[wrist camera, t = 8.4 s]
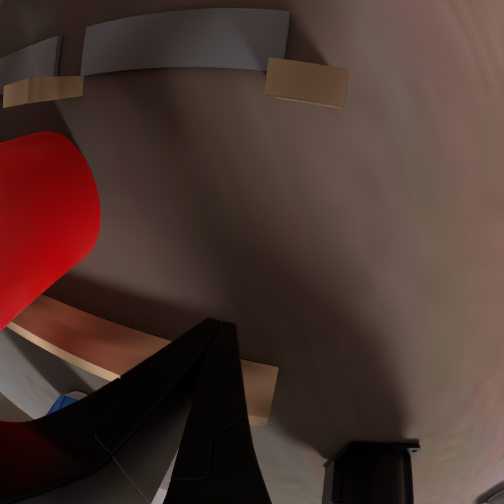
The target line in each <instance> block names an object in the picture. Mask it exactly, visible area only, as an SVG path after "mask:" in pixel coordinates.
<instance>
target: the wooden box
mask: <svg viewBox="0 0 504 504" xmlns="http://www.w3.org/2000/svg"><path fill="white" fill-rule="evenodd" d="M289 21H290V11H283V10H271V9H253V8H208V9H190V10H178V11H168V12H160V13H152V14H145V15H139V16H133V17H127V18H122V19H117V20H113V21H108V22H104V23H99V24H95V25H91V26H88V27H86V32H85V39H84V46H83V54H82V63H81V74H80V76H57V75H58V64H59V55H60V47H61V40H62V36H60V35H58V36H55V37H52V38H49V39H46V40H43V41H41V42H38V43H35V44H33V45H30V46H28V47H25V48H23V49H20V50H18V51H16V52H13V53H11V54H9V55H7V56H5V57H3V58H0V96H1V95H3V108H7V107H12V106H17V105H23V104H29V103H35V102H42V101H49V100H57V99H63V98H71V97H79V96H83V89H84V76H87V75H93V74H101V73H108V72H117V71H127V70H139V69H155V68H229V69H245V70H257V71H267V75H266V83H265V91H264V94H265V95H269V96H272V97H275V98H278V99H283V100H290V101H297V102H303V103H309V104H315V105H320V106H325V107H330V108H342V107H344V104H345V98H346V91H347V84H348V77H349V70H346V69H341V68H336V67H331V66H326V65H320V64H314V63H308V62H301V61H294V60H287V59H285V52H286V45H287V37H288V29H289ZM7 327H8V328H10V329H11V330H13V331H15V332H16V333H18V334H19V335H21V336H23V337H24V338H26V339H28V340H29V341H31V342H33V343H35V344H36V345H38V346H40V347H42V348H43V349H45V350H47V351H49V352H51V353H53V354H54V355H56V356H58V357H60V358H62V359H64V360H66V361H68V362H70V363H72V364H74V365H76V366H78V367H80V368H82V369H84V370H87V371H89V372H91V373H93V374H95V375H98V376H100V377H102V378H104V379H107V380H109V381H113V380H114V379H116V378H117V377H119V378H120V376H121V375H122V374H124V373H125V372H127V371H128V370H130V369H131V368H133V367H134V366H136V365H137V364H139V363H141V362H142V361H144V360H145V359H147V358H148V357H150V356H151V355H153V354H154V353H156V352H157V351H159V350H160V349H162V348H163V347H165V346H166V345H168V344H169V343H171V342H172V341H170V340H166V339H163V338H160V337H156V336H153V335H150V334H147V333H144V332H141V331H138V330H135V329H132V328H129V327H126V326H123V325H120V324H117V323H114V322H111V321H108V320H106V319H103V318H100V317H97V316H95V315H92V314H89V313H87V312H84V311H82V310H79V309H76V308H74V307H71V306H69V305H66V304H64V303H62V302H59V301H57V300H54V299H52V298H50V297H47V296H45V295H43V294H41V295H39V296H38V297H37V298H36V299H35V300H34V301H33V302H32V303H31V304H29V305H28V306H27V307H26V308H25V309H24V310H23V311H22V312H21V313H20V314H19V315H17V316H16V317H15V318H14V319H13V320H12V321H11V322H10V323H9V324H8V325H7ZM241 366H242V373H243V381H244V388H245V396H246V403H247V410H248V418H249V424H250V425H251V426H256V427H261V428H266V425H267V422H268V419H269V414H270V409H271V405H272V400H273V394H274V389H275V384H276V379H277V374H278V368H279V367H275V366H270V365H265V364H261V363H256V362H251V361H247V360H242V359H241Z"/></svg>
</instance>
